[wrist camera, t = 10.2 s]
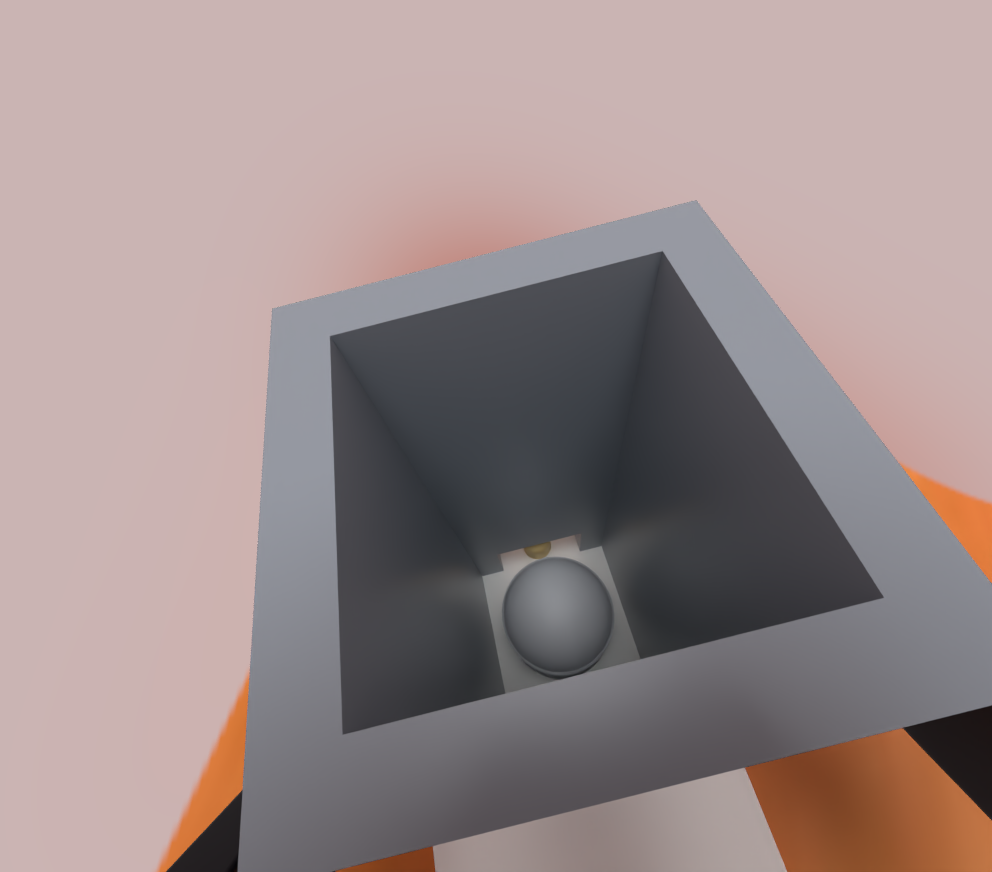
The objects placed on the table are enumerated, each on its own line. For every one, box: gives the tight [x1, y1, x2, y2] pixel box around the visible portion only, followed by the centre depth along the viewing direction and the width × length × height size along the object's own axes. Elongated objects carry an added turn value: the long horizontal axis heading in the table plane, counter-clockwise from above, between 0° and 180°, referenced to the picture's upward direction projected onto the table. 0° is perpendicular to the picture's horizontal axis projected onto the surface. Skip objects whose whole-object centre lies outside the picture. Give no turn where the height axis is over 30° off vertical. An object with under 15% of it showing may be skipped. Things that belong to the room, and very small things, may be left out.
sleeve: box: [238, 201, 992, 872], centre depth 10 cm, size 6×6×12 cm
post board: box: [433, 535, 787, 872], centre depth 12 cm, size 18×9×5 cm, turn 13°
